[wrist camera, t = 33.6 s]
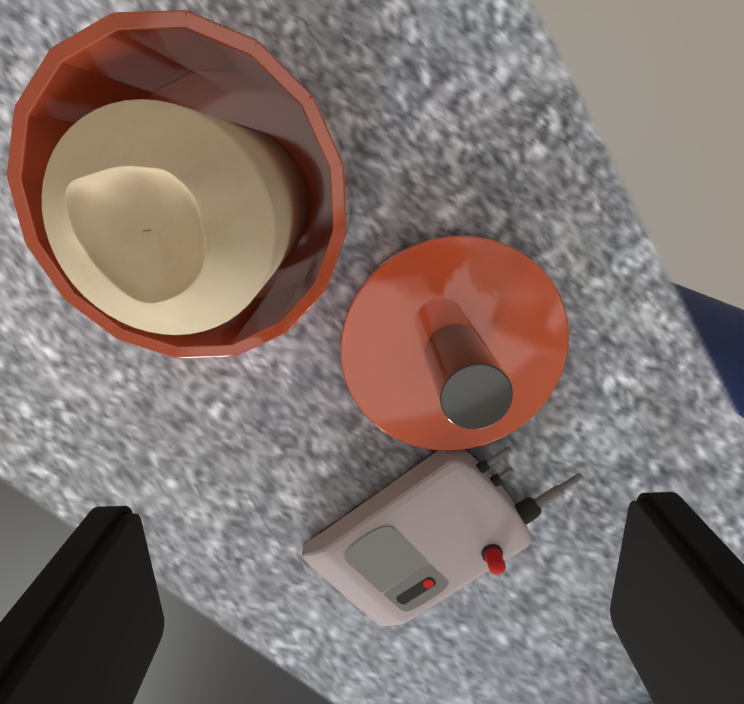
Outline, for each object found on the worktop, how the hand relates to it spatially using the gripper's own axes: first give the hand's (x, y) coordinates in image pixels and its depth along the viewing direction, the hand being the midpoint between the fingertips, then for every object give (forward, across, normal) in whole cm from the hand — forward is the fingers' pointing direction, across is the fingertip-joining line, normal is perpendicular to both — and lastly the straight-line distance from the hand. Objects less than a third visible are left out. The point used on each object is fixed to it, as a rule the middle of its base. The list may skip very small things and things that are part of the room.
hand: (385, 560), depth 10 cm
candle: (+13, +5, -6) cm, 16 cm away
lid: (+13, -3, +1) cm, 14 cm away
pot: (+14, +6, -6) cm, 16 cm away
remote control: (+14, -2, +11) cm, 18 cm away
